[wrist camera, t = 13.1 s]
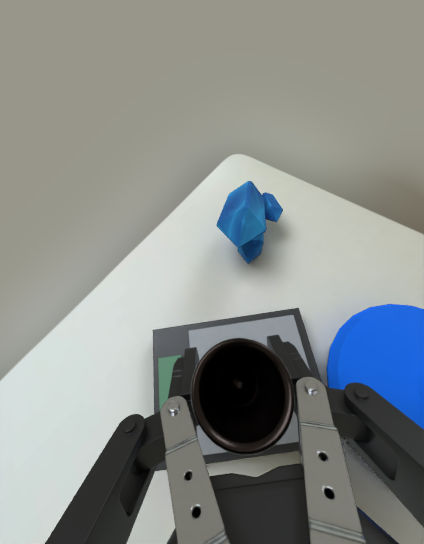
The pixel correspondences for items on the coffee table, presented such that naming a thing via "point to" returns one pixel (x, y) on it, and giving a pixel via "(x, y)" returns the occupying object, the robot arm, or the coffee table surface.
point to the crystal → (248, 218)
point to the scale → (208, 334)
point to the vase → (383, 356)
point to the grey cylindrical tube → (242, 396)
